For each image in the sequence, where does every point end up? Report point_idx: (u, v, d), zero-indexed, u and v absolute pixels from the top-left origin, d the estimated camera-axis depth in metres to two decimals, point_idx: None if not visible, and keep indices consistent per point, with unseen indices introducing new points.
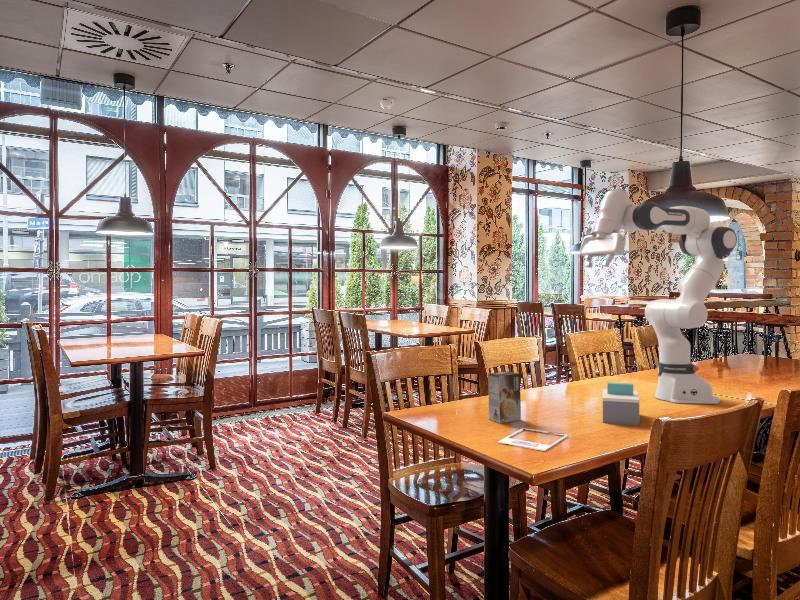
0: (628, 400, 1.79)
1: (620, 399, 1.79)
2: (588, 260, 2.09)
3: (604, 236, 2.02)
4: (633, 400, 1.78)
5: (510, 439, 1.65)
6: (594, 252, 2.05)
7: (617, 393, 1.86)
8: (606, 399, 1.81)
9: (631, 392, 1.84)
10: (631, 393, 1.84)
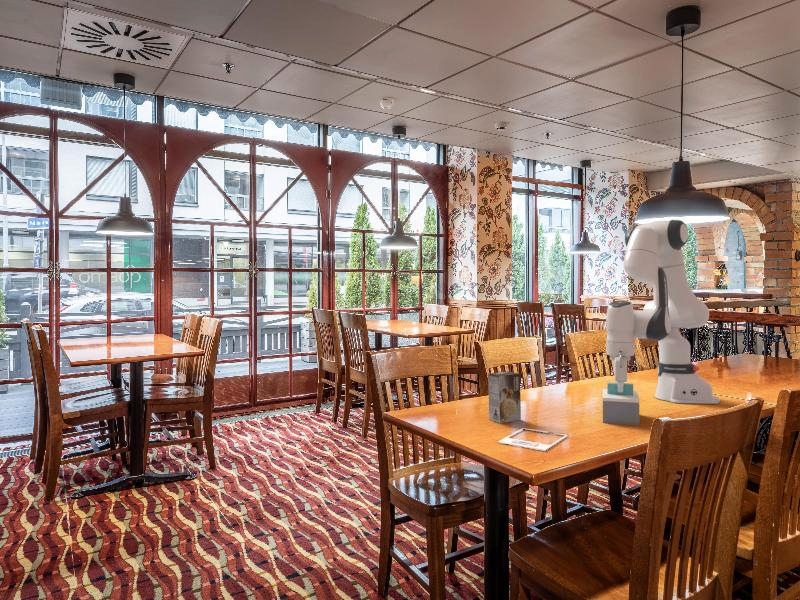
0: (628, 400, 1.79)
1: (620, 399, 1.79)
2: None
3: (613, 359, 1.84)
4: (633, 400, 1.78)
5: (510, 439, 1.65)
6: None
7: (617, 393, 1.86)
8: (606, 399, 1.81)
9: (631, 392, 1.84)
10: (631, 393, 1.84)
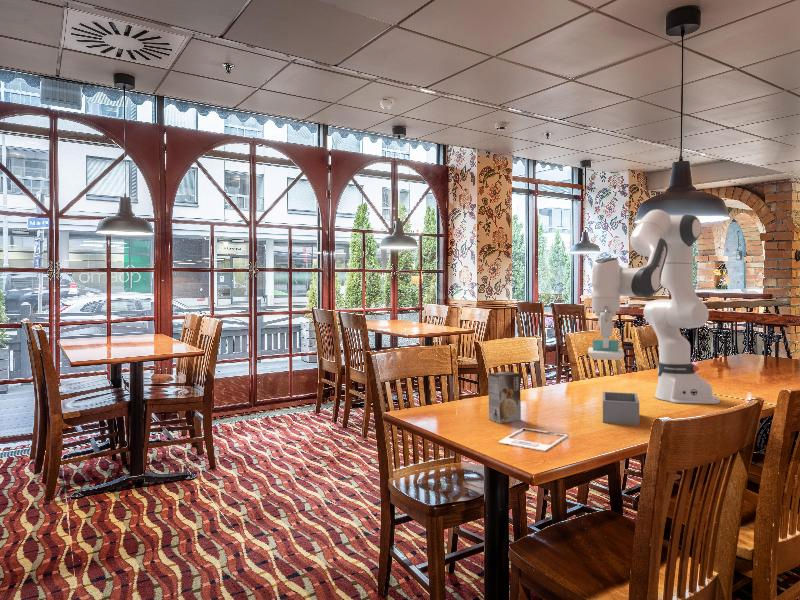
0: (613, 354, 1.79)
1: (605, 354, 1.80)
2: None
3: (599, 315, 1.85)
4: (618, 354, 1.79)
5: (510, 439, 1.65)
6: None
7: (602, 349, 1.86)
8: (591, 354, 1.81)
9: (616, 348, 1.85)
10: (616, 349, 1.85)
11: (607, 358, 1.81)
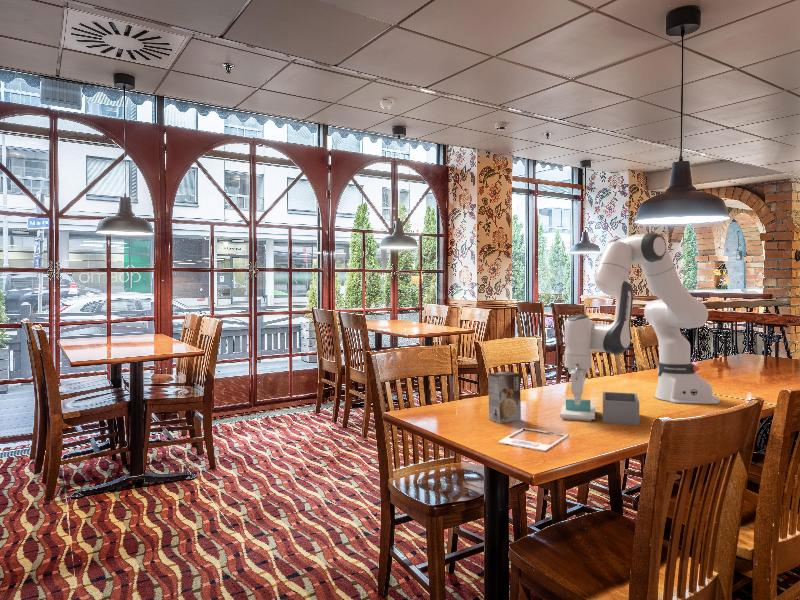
0: (584, 416, 1.84)
1: (576, 415, 1.84)
2: None
3: (571, 371, 1.89)
4: (589, 416, 1.83)
5: (510, 439, 1.65)
6: None
7: (575, 409, 1.91)
8: (563, 415, 1.86)
9: (588, 408, 1.89)
10: (588, 409, 1.89)
11: (579, 419, 1.85)
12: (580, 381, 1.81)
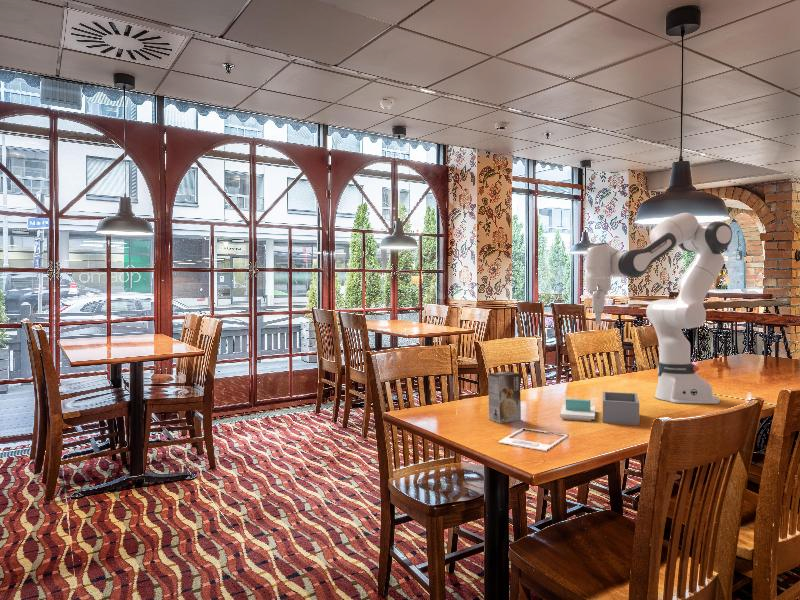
0: (584, 416, 1.84)
1: (576, 415, 1.84)
2: None
3: (592, 293, 2.09)
4: (589, 416, 1.83)
5: (510, 439, 1.65)
6: None
7: (575, 409, 1.91)
8: (563, 415, 1.86)
9: (588, 408, 1.89)
10: (588, 409, 1.89)
11: (579, 419, 1.85)
12: (601, 299, 2.01)
